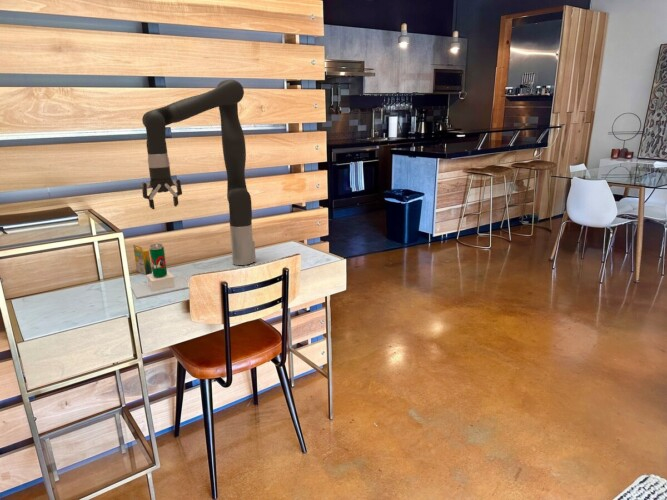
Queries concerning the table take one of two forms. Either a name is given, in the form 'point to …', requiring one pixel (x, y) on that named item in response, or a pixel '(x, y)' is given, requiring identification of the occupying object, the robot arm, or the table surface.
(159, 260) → the soda can
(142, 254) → the crayon box
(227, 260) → the table surface
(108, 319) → the table surface
